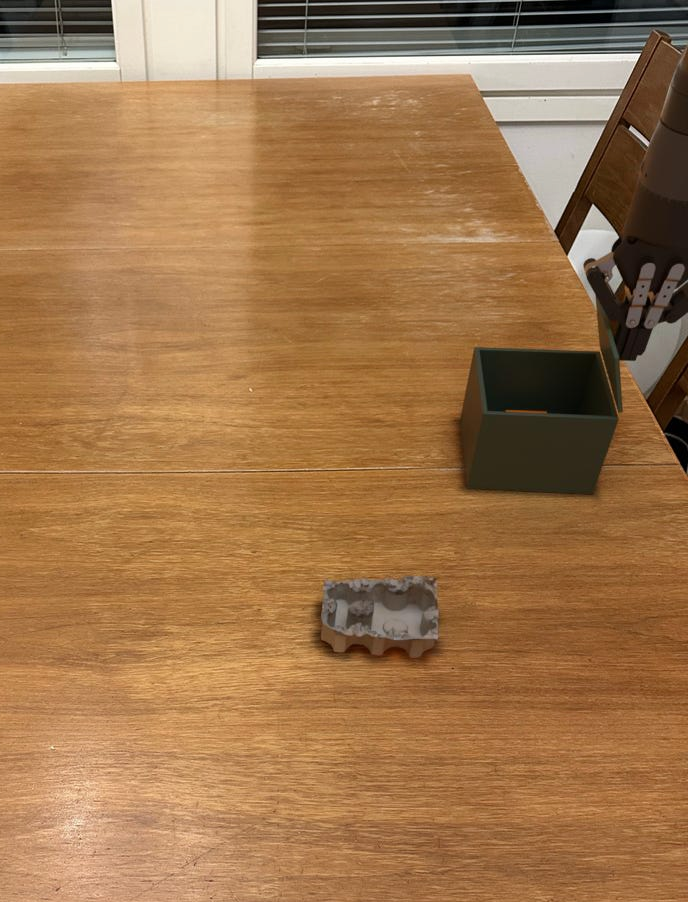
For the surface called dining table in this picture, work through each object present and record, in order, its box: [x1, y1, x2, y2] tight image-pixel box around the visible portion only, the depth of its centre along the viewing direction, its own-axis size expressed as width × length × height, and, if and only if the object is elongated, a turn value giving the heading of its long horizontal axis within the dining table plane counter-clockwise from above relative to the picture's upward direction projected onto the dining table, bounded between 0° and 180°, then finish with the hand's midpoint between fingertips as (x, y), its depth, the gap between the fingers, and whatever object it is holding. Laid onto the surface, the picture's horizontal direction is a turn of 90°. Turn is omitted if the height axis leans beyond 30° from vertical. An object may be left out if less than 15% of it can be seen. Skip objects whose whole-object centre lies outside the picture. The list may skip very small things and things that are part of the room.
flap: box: [594, 294, 624, 414], centre depth 96 cm, size 6×12×1 cm
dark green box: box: [459, 346, 620, 495], centre depth 103 cm, size 13×12×10 cm
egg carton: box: [320, 575, 440, 659], centre depth 89 cm, size 11×8×4 cm
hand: (625, 356), depth 97 cm, fingers closed
